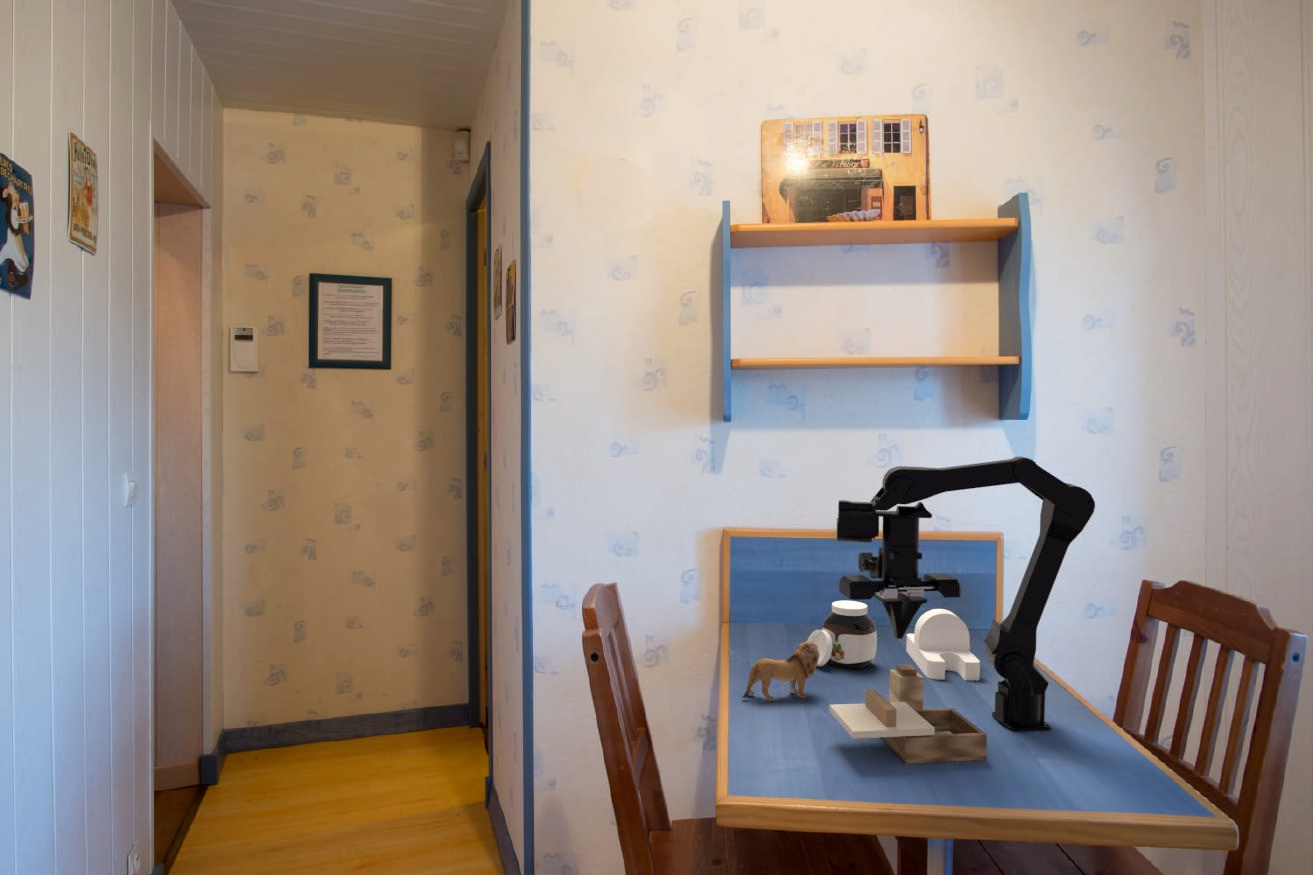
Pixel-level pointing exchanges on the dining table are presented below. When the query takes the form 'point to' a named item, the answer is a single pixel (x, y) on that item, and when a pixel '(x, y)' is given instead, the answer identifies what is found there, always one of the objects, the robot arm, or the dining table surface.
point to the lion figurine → (785, 670)
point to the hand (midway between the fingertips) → (898, 638)
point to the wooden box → (942, 740)
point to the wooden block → (906, 686)
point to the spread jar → (846, 636)
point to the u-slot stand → (942, 646)
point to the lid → (880, 718)
